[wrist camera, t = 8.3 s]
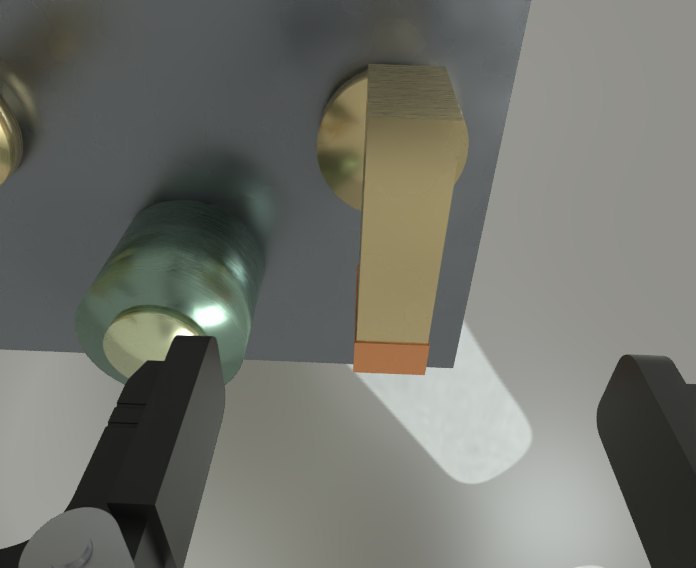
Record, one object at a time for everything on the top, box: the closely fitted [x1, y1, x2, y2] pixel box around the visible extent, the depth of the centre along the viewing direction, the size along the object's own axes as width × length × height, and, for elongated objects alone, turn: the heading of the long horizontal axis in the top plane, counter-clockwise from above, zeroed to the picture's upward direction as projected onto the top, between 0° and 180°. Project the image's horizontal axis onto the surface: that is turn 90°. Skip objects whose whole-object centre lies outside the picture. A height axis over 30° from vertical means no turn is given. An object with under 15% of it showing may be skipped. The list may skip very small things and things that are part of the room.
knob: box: [317, 64, 469, 375], centre depth 17 cm, size 8×5×8 cm
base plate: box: [0, 0, 531, 385], centre depth 20 cm, size 20×24×7 cm
